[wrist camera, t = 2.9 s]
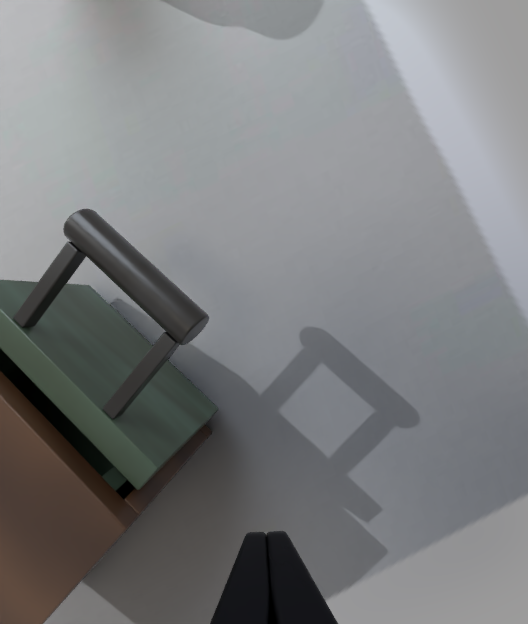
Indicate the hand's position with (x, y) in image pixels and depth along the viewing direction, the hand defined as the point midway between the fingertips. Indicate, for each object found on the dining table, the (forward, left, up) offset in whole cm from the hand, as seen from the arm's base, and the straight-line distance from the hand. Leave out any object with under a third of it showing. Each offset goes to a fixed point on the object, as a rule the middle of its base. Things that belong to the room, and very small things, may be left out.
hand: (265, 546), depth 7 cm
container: (+8, +7, -11) cm, 15 cm away
